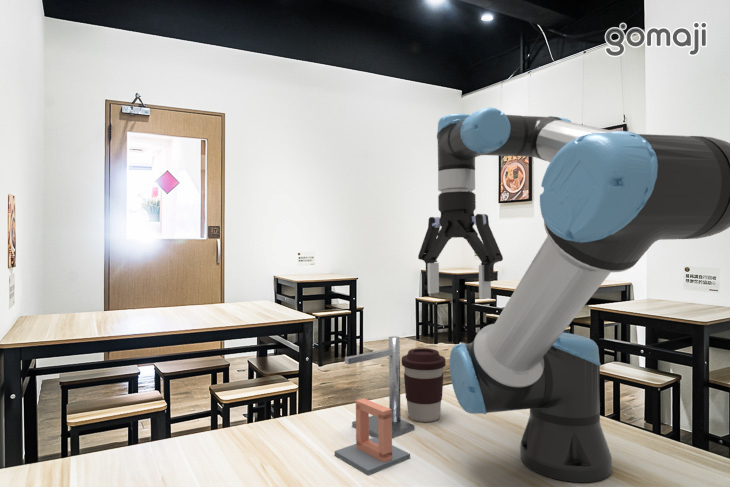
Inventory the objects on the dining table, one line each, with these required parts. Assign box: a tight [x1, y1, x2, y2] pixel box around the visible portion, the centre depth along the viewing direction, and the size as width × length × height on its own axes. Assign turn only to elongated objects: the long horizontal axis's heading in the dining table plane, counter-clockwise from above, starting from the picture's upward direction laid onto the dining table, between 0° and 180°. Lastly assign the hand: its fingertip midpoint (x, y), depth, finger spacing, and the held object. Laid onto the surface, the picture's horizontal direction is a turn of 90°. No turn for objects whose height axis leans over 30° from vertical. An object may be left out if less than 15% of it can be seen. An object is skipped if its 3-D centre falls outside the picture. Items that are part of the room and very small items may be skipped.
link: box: [355, 397, 393, 462], centre depth 88 cm, size 8×2×9 cm, turn 39°
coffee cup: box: [401, 347, 447, 423], centre depth 109 cm, size 10×10×15 cm
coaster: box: [334, 437, 411, 476], centre depth 89 cm, size 10×10×1 cm
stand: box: [344, 335, 415, 439], centre depth 101 cm, size 10×14×19 cm
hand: (457, 295), depth 98 cm, fingers open, 13 cm apart
